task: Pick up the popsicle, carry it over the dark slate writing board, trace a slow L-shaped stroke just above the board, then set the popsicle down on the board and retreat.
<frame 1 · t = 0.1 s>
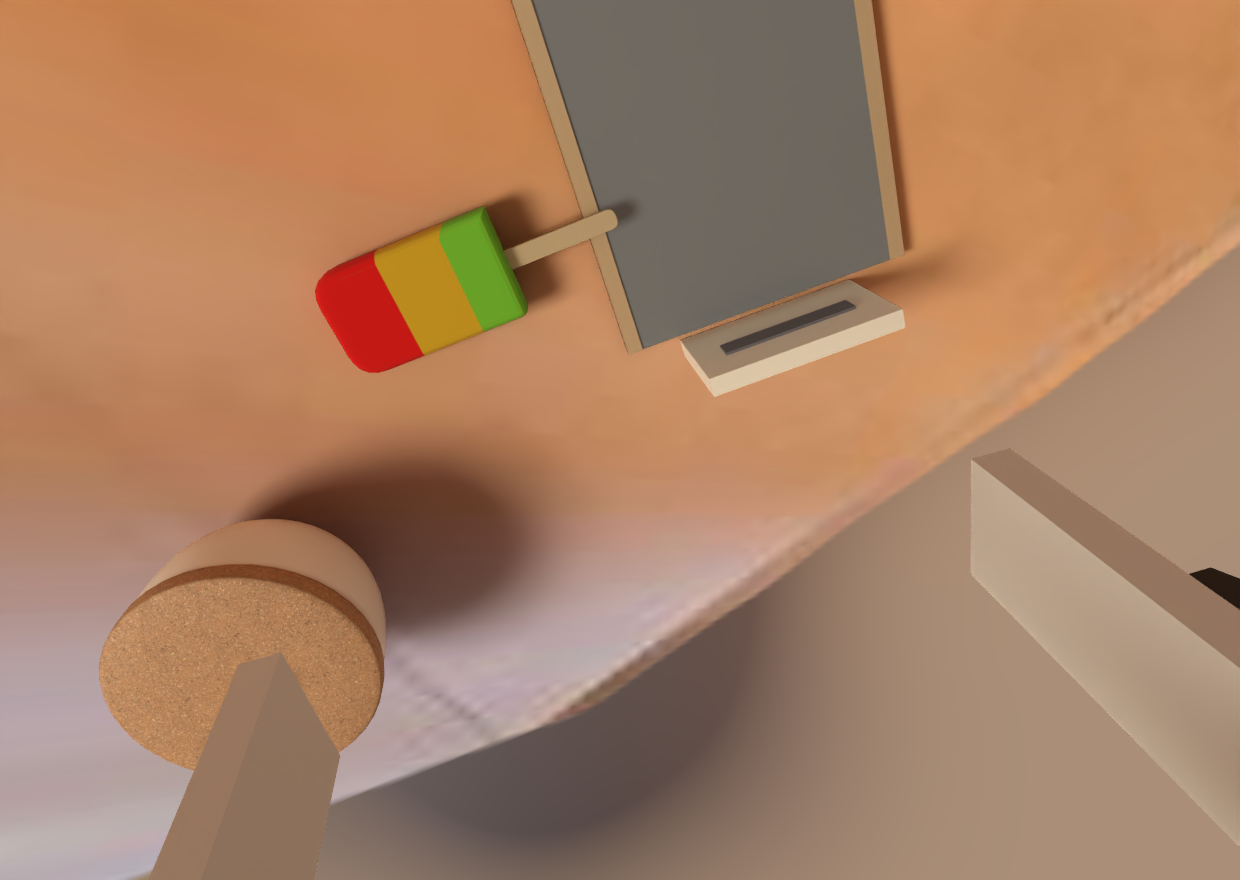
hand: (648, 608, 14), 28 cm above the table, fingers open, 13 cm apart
word card: (766, 317, 42), on the table
lidded bowl: (289, 572, 44), on the table
slate board: (719, 114, 37), on the table
popsicle: (475, 268, 38), on the table, touching slate board
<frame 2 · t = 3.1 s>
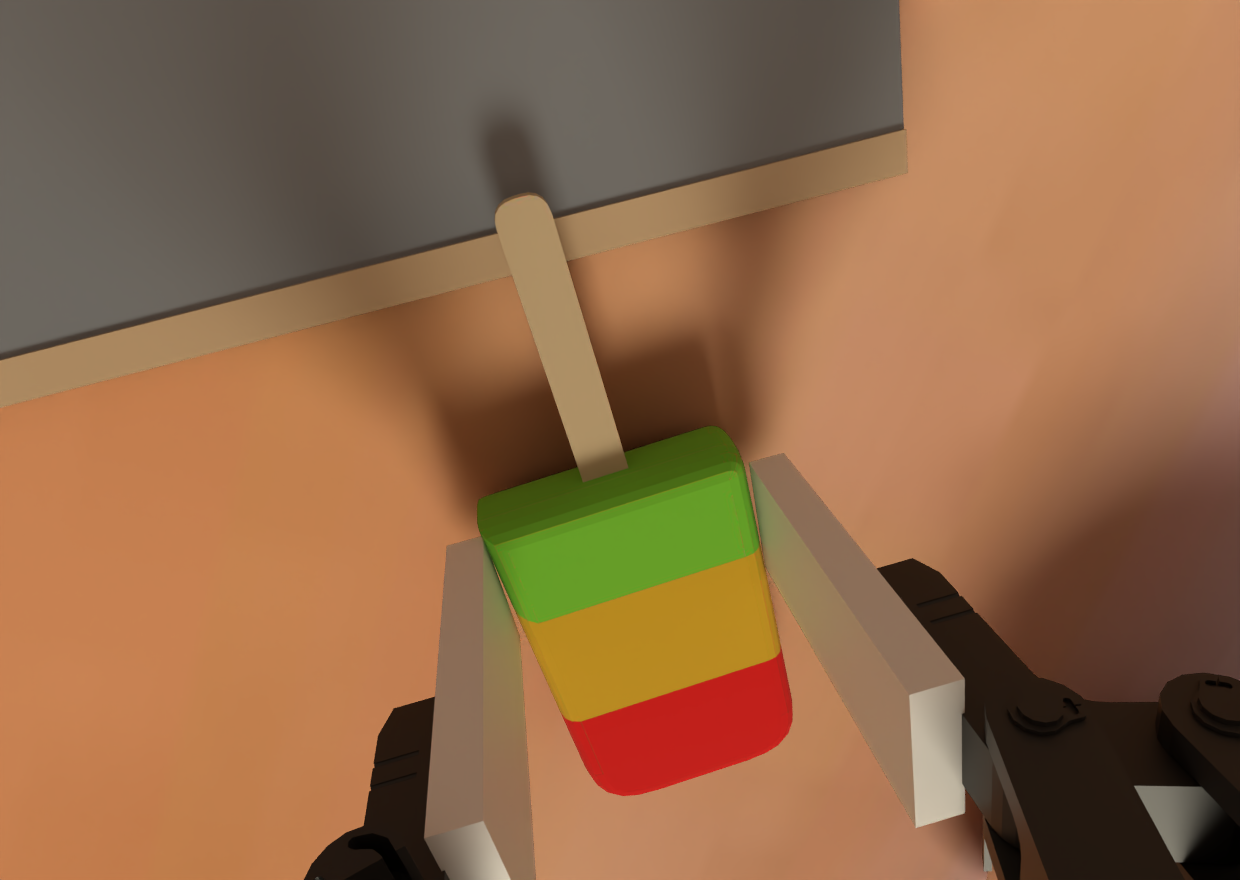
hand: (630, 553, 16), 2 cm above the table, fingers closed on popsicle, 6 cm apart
popsicle: (618, 510, 17), on the table, touching gripper
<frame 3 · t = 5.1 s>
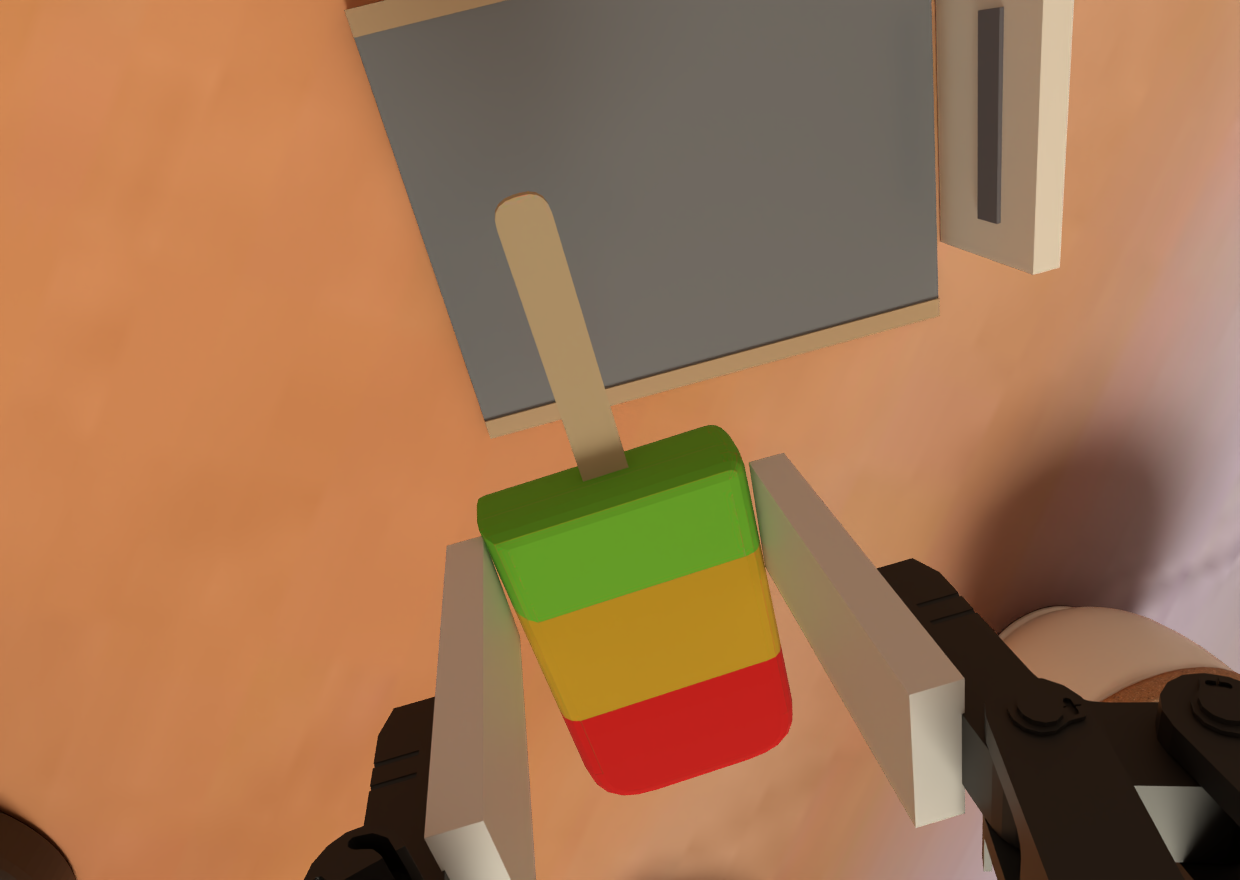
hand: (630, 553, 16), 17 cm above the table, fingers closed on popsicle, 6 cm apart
word card: (949, 113, 29), on the table
lidded bowl: (1035, 652, 44), on the table
slate board: (681, 183, 29), on the table
popsicle: (618, 510, 17), point 15 cm above the table, touching gripper
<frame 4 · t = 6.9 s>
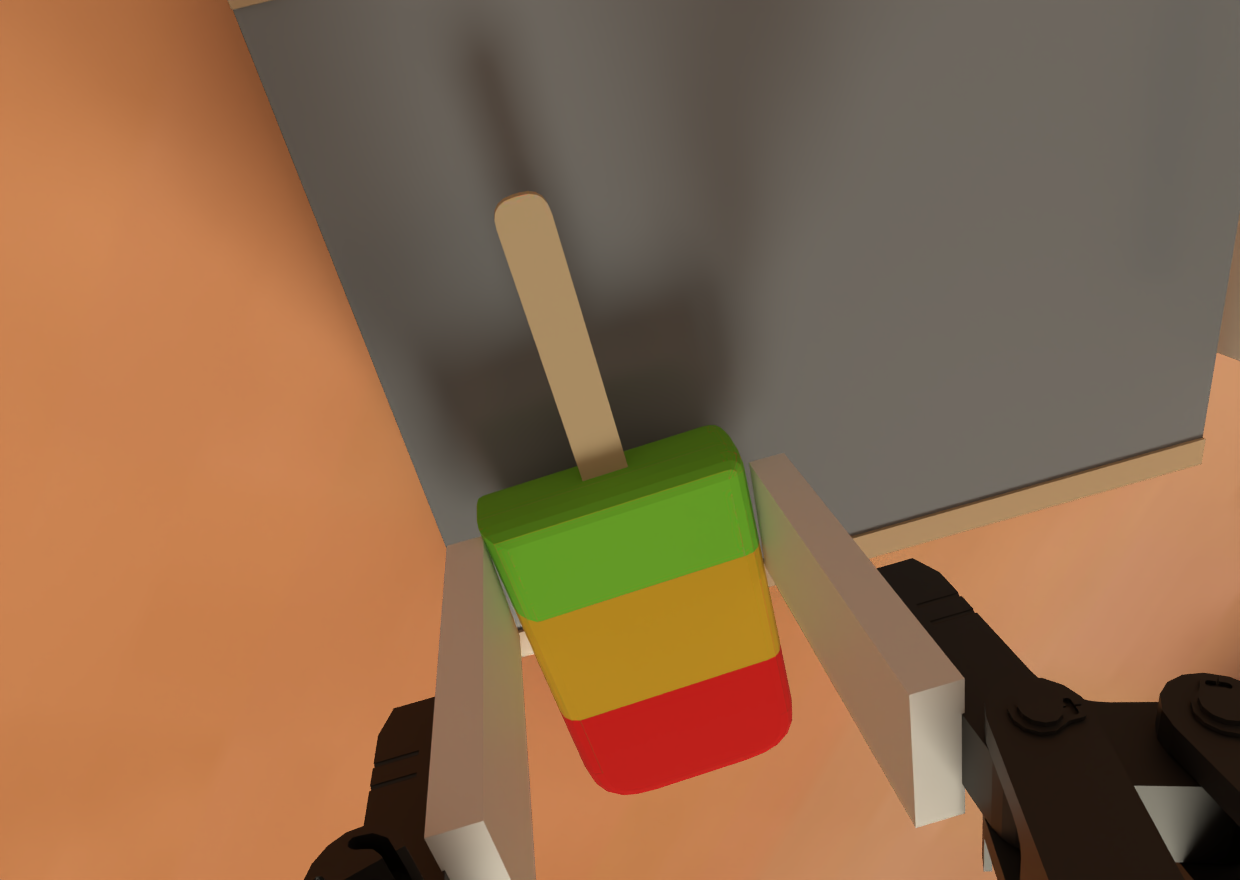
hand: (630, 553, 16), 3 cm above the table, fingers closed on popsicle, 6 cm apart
slate board: (818, 266, 17), on the table
popsicle: (617, 509, 17), point 1 cm above the table, touching gripper
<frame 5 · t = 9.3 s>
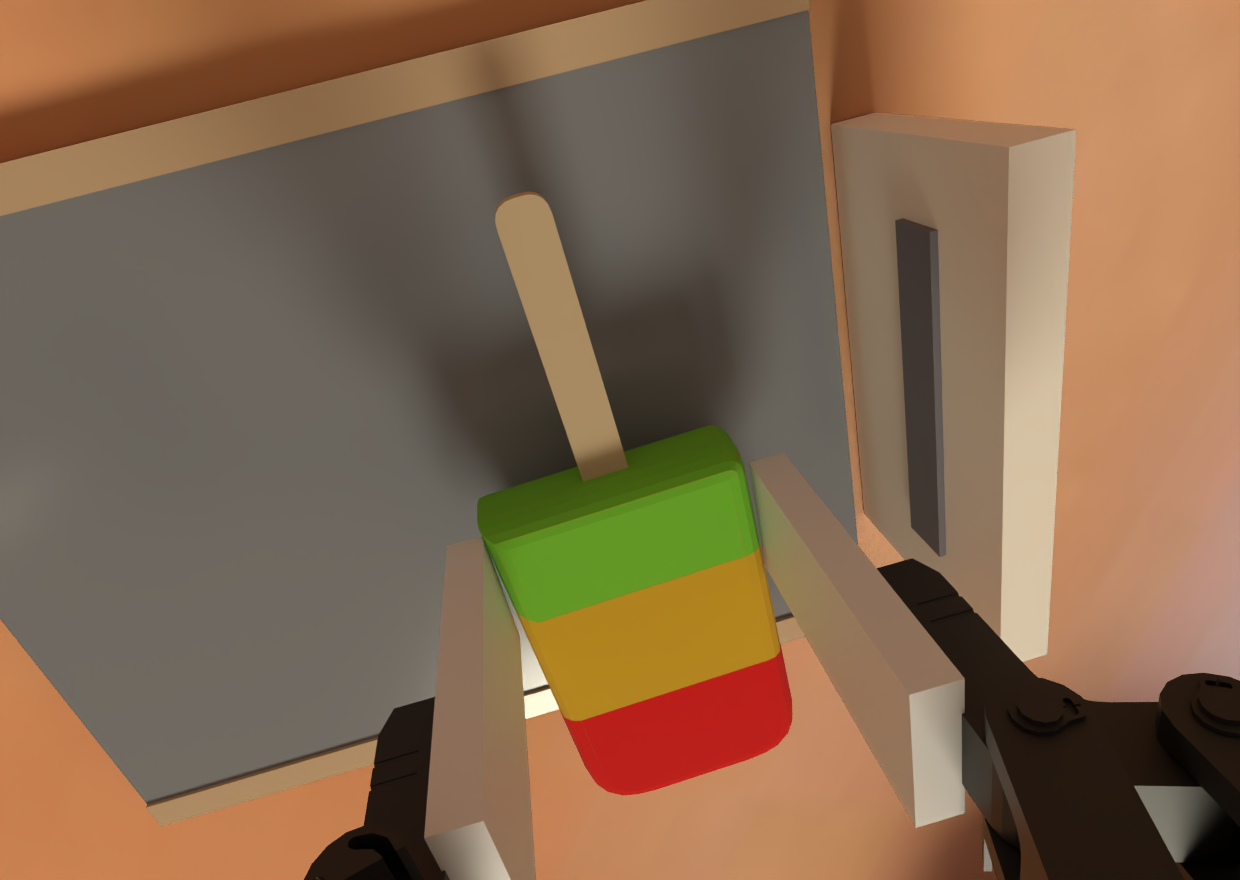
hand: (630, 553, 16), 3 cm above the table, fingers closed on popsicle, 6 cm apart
word card: (869, 338, 18), on the table
slate board: (424, 461, 18), on the table
popsicle: (618, 510, 17), point 1 cm above the table, touching gripper
when the fingers open (3 cm above the table, at t = 11.2 s): popsicle stays where it is, resting on slate board.
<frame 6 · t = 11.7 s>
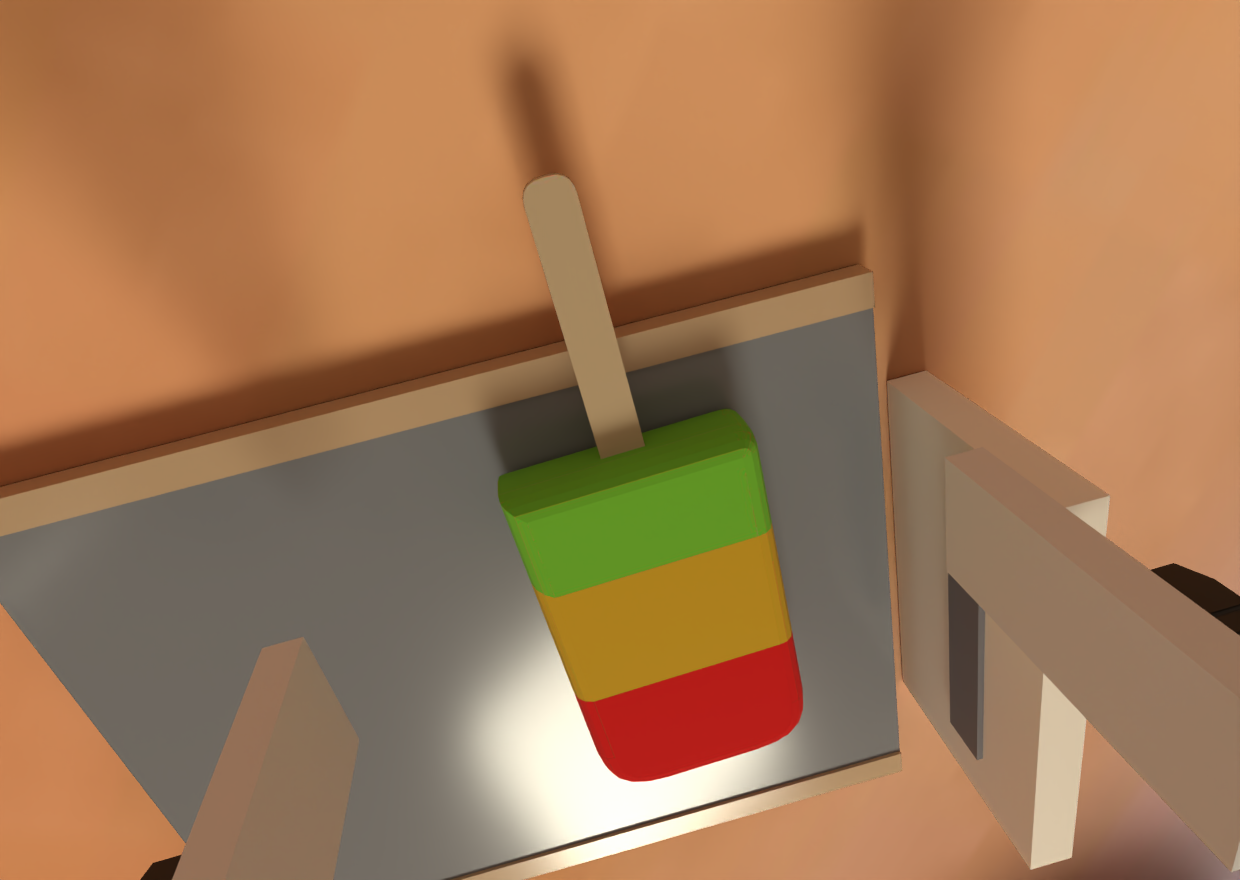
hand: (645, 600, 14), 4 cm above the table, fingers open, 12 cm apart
word card: (913, 543, 20), on the table
slate board: (517, 652, 20), on the table
popsicle: (633, 493, 18), resting on slate board
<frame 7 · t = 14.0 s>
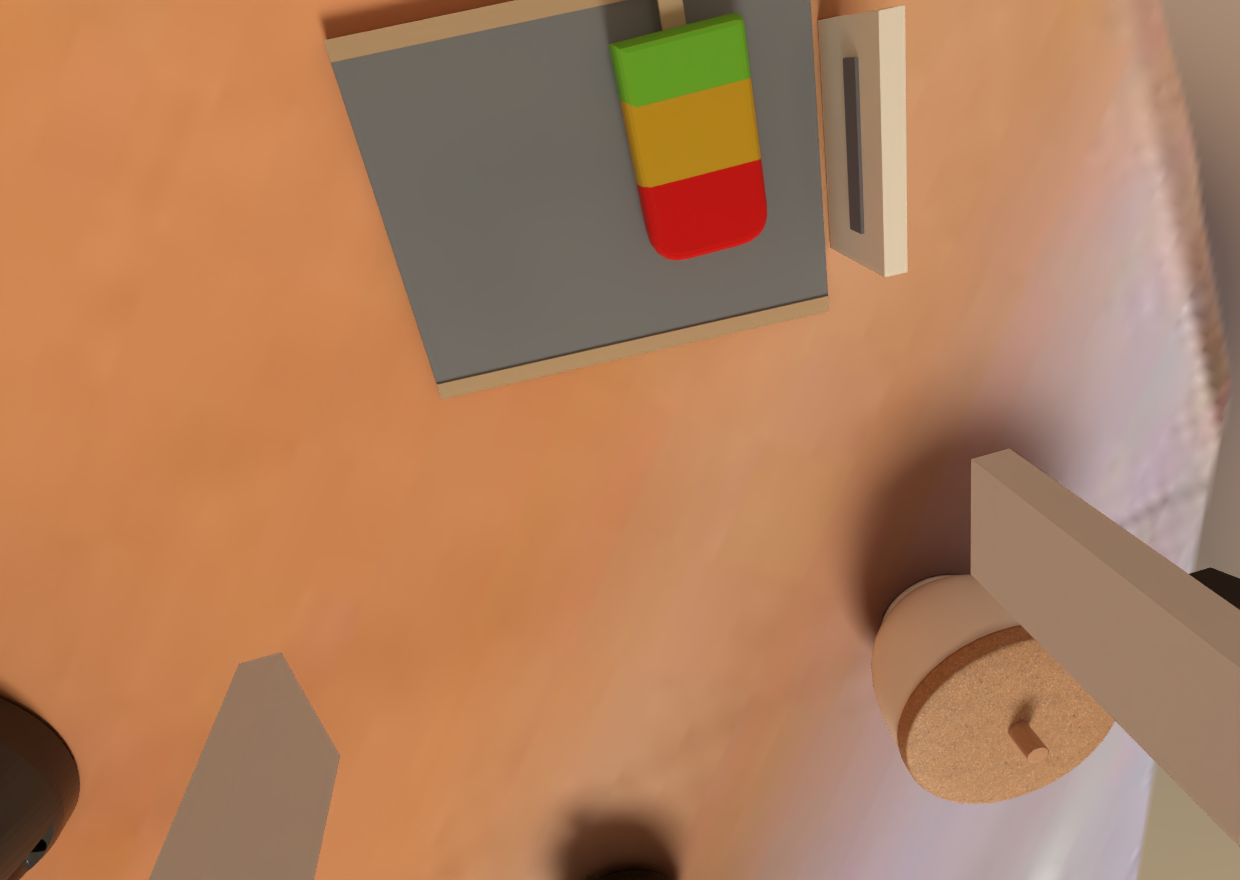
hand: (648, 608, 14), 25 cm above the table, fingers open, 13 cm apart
word card: (834, 139, 35), on the table
lidded bowl: (931, 616, 49), on the table
slate board: (604, 189, 34), on the table
popsicle: (676, 74, 32), resting on slate board
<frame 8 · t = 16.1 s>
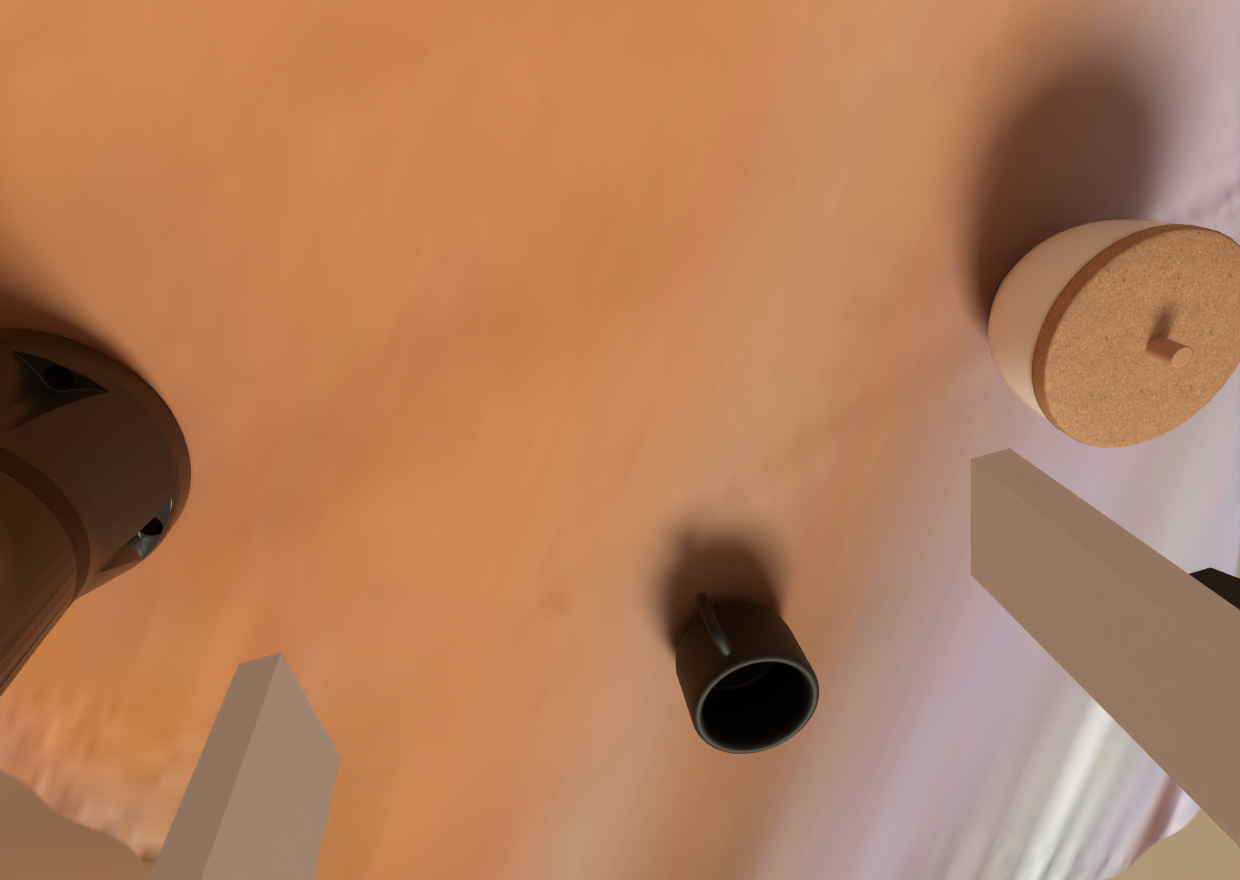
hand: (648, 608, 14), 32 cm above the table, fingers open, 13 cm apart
lidded bowl: (1040, 300, 49), on the table
mug: (718, 623, 56), on the table
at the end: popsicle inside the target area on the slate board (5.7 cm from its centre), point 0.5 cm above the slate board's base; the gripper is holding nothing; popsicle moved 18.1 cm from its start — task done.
